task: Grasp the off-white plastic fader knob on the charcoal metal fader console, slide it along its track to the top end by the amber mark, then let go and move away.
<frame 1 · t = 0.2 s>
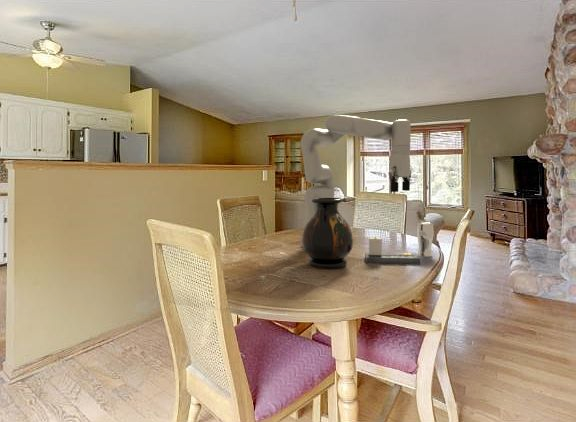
hand: (400, 191, 150), 30 cm above the table, tool pointing down, fingers open, 9 cm apart
dark decorated vase: (327, 264, 149), on the table
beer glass: (424, 255, 162), on the table
fader console: (391, 260, 153), on the table
fader knob: (375, 246, 153), point 7 cm above the table, slide at 0.0 cm
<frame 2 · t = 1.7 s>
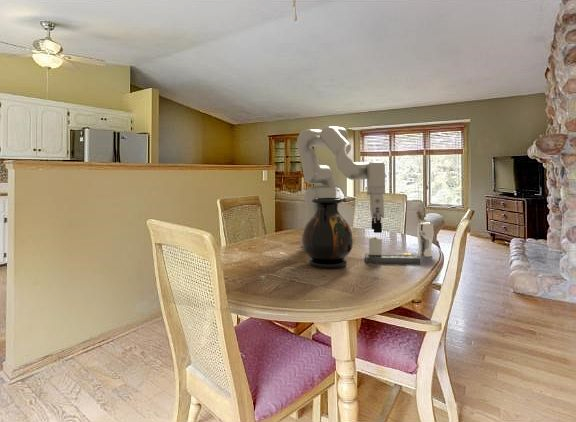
hand: (376, 230, 152), 13 cm above the table, tool pointing down, fingers open, 9 cm apart
nothing on the table moved.
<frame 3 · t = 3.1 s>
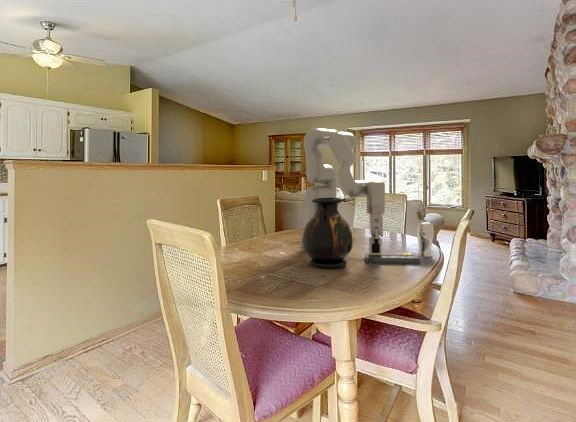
hand: (375, 251, 153), 4 cm above the table, tool pointing down, fingers closed on fader knob, 4 cm apart
fader knob: (375, 246, 153), point 7 cm above the table, slide at 0.0 cm, touching gripper
everything else where it was.
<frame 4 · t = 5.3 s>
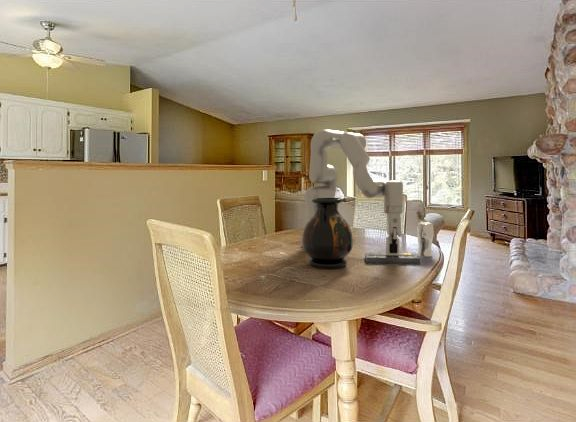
hand: (392, 251, 152), 4 cm above the table, tool pointing down, fingers closed on fader knob, 4 cm apart
fader knob: (392, 246, 152), point 7 cm above the table, slide at 7.3 cm, touching gripper
everything else where it was.
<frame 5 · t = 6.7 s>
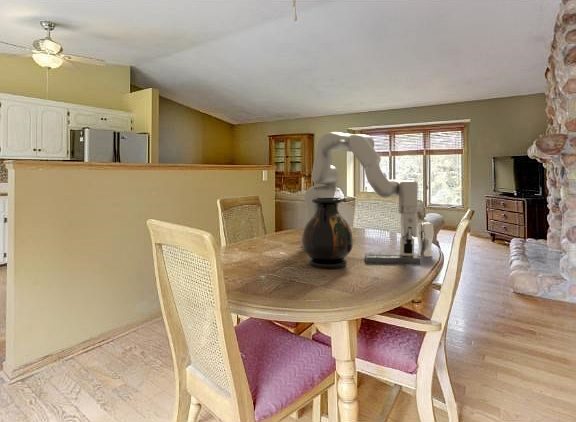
hand: (406, 251, 152), 4 cm above the table, tool pointing down, fingers closed on fader knob, 4 cm apart
fader knob: (407, 246, 151), point 7 cm above the table, slide at 13.3 cm, touching gripper
everything else where it was.
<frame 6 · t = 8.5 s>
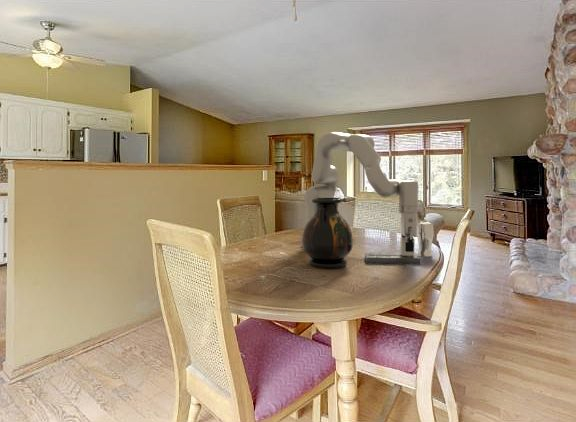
hand: (407, 248, 152), 5 cm above the table, tool pointing down, fingers open, 9 cm apart
fader knob: (407, 246, 151), point 7 cm above the table, slide at 13.5 cm
everything else where it was.
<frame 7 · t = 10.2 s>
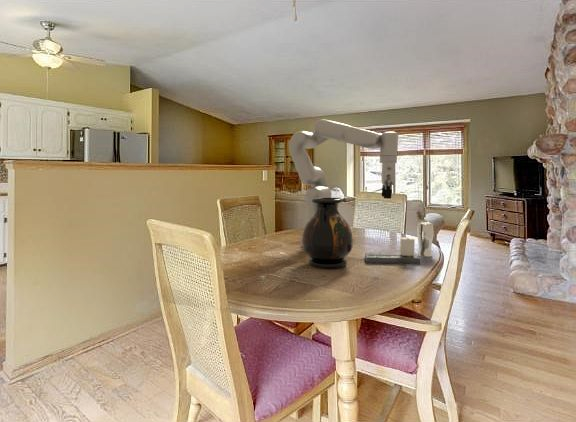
hand: (386, 197, 162), 27 cm above the table, tool pointing down, fingers open, 9 cm apart
nothing on the table moved.
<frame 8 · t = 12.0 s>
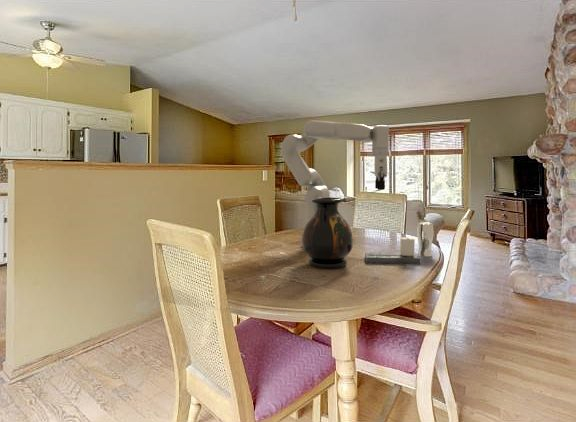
hand: (379, 189, 167), 30 cm above the table, tool pointing down, fingers open, 9 cm apart
nothing on the table moved.
at the end: fader knob slide at 13.5 cm; the gripper is holding nothing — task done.
